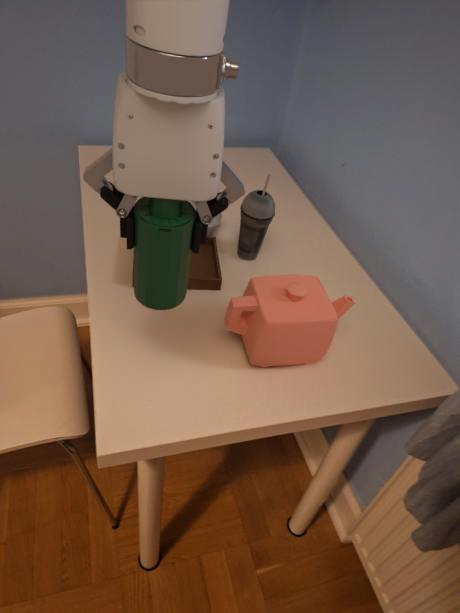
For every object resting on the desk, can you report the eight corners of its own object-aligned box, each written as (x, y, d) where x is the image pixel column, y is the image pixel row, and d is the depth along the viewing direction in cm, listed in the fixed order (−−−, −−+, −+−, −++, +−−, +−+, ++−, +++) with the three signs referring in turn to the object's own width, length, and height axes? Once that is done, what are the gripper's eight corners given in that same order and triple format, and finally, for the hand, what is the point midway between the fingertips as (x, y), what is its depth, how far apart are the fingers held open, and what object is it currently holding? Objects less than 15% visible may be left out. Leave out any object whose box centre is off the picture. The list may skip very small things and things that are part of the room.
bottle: (132, 309, 48) (131, 188, 37) (135, 273, 52) (135, 155, 41) (186, 311, 49) (202, 195, 38) (185, 276, 54) (198, 162, 42)
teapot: (321, 316, 81) (347, 261, 71) (346, 368, 72) (379, 314, 62) (213, 320, 75) (225, 262, 65) (226, 377, 67) (242, 320, 57)
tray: (132, 287, 78) (132, 276, 76) (135, 242, 88) (135, 231, 86) (220, 290, 81) (222, 280, 79) (213, 246, 91) (215, 236, 89)
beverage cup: (256, 243, 94) (276, 162, 80) (267, 263, 90) (291, 181, 76) (227, 245, 92) (242, 162, 78) (237, 266, 87) (256, 182, 73)
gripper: (268, 69, 37) (234, 230, 50) (68, 37, 34) (86, 218, 46) (284, 99, 32) (242, 270, 45) (51, 66, 29) (77, 261, 41)
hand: (163, 242), depth 45 cm, fingers closed on bottle, 6 cm apart
